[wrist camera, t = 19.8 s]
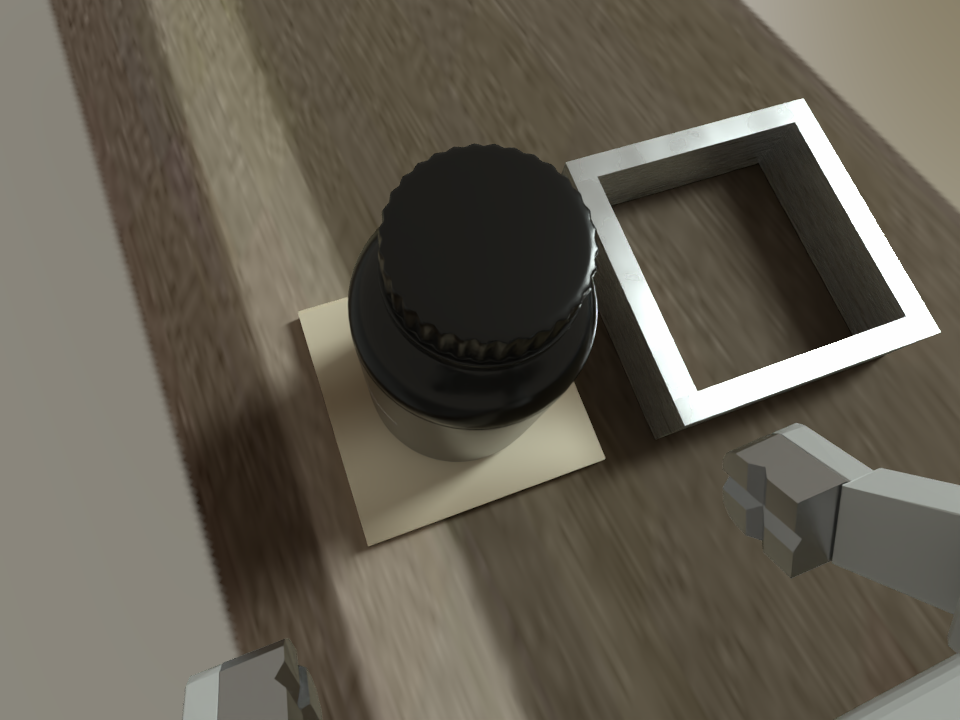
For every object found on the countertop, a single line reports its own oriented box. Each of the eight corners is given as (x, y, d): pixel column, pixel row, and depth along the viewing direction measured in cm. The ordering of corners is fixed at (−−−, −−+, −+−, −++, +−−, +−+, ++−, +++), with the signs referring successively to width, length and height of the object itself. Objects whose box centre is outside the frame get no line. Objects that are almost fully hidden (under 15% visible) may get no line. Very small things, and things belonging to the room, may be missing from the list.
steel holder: (886, 354, 27) (940, 332, 24) (655, 439, 25) (684, 425, 22) (767, 141, 30) (803, 98, 27) (551, 201, 28) (565, 162, 25)
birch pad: (601, 460, 25) (605, 458, 24) (369, 546, 23) (368, 546, 22) (516, 253, 27) (518, 247, 26) (300, 317, 25) (297, 311, 25)
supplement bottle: (336, 413, 24) (255, 286, 12) (423, 272, 26) (424, 50, 14) (494, 499, 23) (563, 452, 12) (570, 349, 25) (692, 184, 14)
